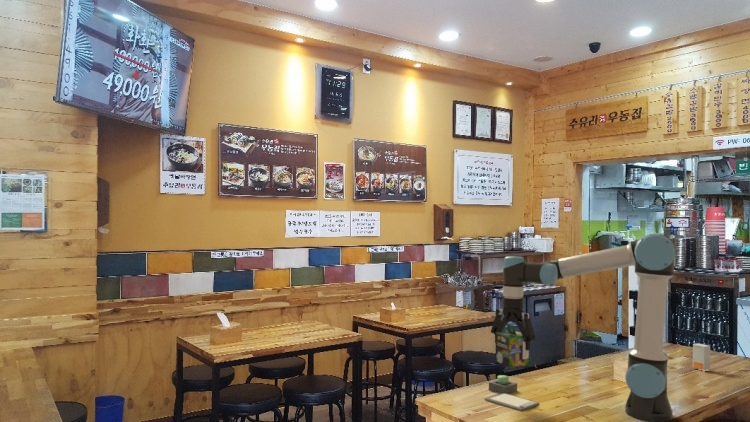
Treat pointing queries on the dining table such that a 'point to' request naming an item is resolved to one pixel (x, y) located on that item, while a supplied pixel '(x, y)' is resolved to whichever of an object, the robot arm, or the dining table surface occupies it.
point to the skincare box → (701, 356)
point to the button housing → (502, 387)
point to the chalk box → (510, 348)
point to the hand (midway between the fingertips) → (512, 355)
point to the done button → (503, 380)
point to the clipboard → (512, 401)
